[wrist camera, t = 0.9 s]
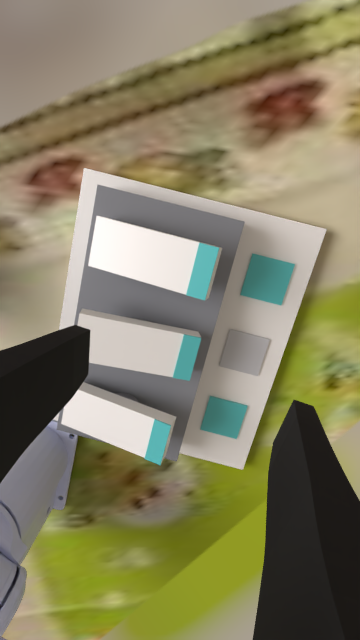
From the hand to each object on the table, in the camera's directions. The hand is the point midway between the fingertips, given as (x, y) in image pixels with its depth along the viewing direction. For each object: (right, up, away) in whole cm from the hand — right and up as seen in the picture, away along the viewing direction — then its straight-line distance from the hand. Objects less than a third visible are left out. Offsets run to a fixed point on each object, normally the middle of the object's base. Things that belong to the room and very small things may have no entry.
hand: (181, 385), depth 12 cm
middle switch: (-3, +1, +12) cm, 12 cm away
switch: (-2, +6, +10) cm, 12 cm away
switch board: (-1, +1, +17) cm, 17 cm away
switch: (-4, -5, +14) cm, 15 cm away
